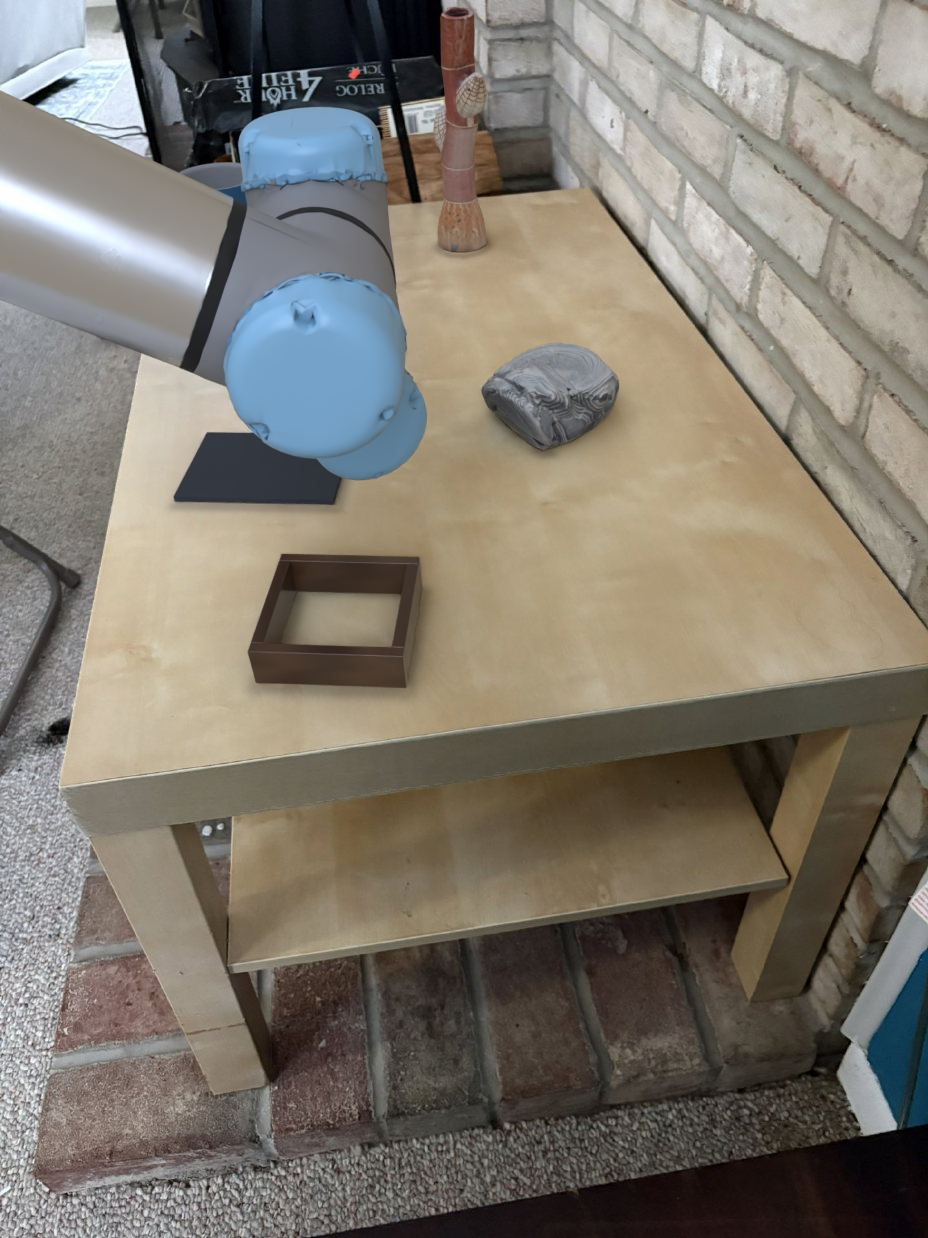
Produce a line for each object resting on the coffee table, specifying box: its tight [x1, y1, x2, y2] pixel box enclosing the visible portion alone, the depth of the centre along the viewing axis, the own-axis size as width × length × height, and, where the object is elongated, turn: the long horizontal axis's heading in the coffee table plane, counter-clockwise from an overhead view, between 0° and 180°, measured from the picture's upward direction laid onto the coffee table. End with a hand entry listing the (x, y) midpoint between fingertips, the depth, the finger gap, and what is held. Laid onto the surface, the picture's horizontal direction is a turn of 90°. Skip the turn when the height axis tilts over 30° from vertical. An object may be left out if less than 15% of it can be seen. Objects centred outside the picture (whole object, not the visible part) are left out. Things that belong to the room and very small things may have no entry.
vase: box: [432, 6, 488, 253], centre depth 127 cm, size 10×7×30 cm
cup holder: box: [247, 553, 423, 689], centre depth 75 cm, size 12×12×4 cm
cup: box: [178, 161, 247, 205], centre depth 78 cm, size 7×7×15 cm
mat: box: [173, 431, 343, 505], centre depth 95 cm, size 16×12×1 cm
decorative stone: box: [480, 342, 620, 451], centre depth 97 cm, size 15×14×10 cm
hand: (214, 226), depth 80 cm, fingers closed on cup, 6 cm apart
